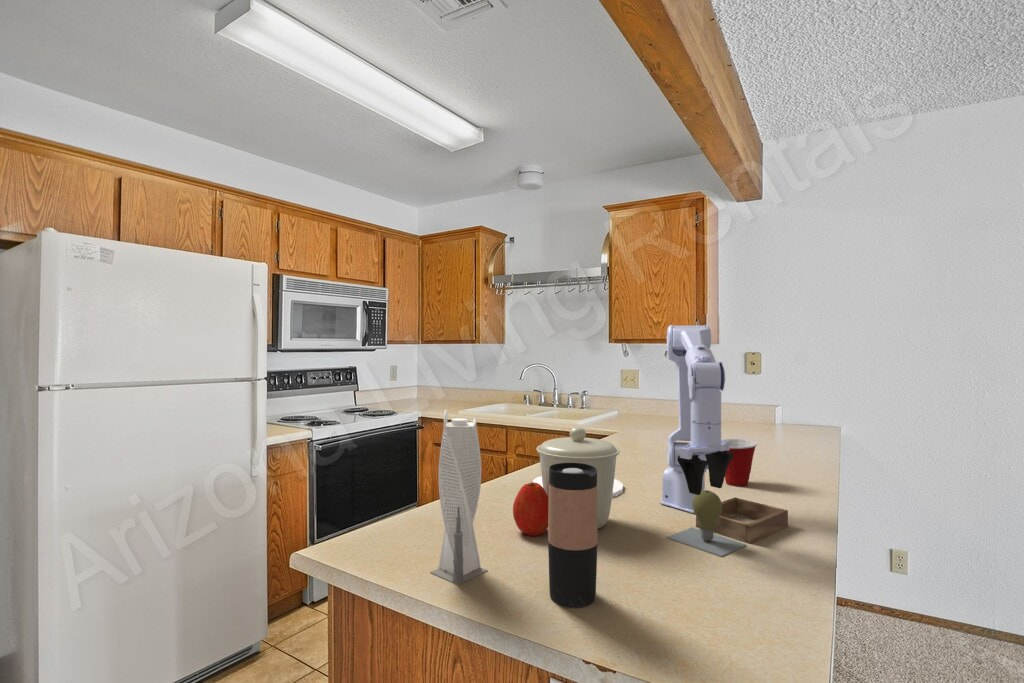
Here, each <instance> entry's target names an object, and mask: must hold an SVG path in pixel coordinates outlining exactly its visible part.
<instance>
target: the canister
mask: <svg viewBox="0 0 1024 683" xmlns="http://www.w3.org/2000/svg"><path fill="white" fill-rule="evenodd" d="M586 434H587V433H586V430H585V428H583V427H579V426H577V427H573V428H571V429H570V430H569V436H568V437H566V436H565V437H557V438H552V439H547V440H545V441H543V442H542V444H539V445H538V446H537V447H536V452H537V453H538V454H539V463H540V472H541V474H540V475H541V476H542V484H543V488H544V490H545V491H546V493H547V495H548V498H549V467H550V466H551V465H554V464H558V463H583V464H588V465H592V466H594V467H596V469H597V530H599V529H600V528H602V527H604V526H605V525H606V524H607V522H608V520H609V517H610V513H611V507H612V500H613V497H612V493H613V485H614V479H615V476H616V475H615V473H616V464H617V457H618V455H619V454H620V453H621V450H620V449H619V448H618V447H616V446H615V445H614V444H612V443H611V442H610V441H606V440H603V439H598V438H593V437H586Z"/></svg>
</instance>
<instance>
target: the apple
mask: <svg viewBox="0 0 1024 683" xmlns="http://www.w3.org/2000/svg"><path fill="white" fill-rule="evenodd" d="M548 509H549V498H548V495H547V493H546V491H545V490H544V488H543V487H542V486H541V485H540V484H538V483H535V482H532V481H531V482H530V483H526V484H524V485H522V486H521V487H520V489H519V490H518V492H517V494H516V496H515V497H514V502H513V504H512V514H513V519H514V522H515V524H516V527H517V528H518V529H519V531H520V532H521V533H523V534H526V535H527V536H531V537H532V536H533V537H534V536H535V537H536V536H540V535H542V534H544V533H545V532H546V531H547V529H548Z"/></svg>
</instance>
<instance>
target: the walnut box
mask: <svg viewBox="0 0 1024 683" xmlns="http://www.w3.org/2000/svg"><path fill="white" fill-rule="evenodd" d="M721 502H722V512H721V514H720V516H719V518H718V520H717V522H716V526H715V528H714V529H713V533H714V532H715V533H714V534H717V533H718V534H717V535H720V536H724V535H725V536H724V537H727V536H728V538H730V537H731V539H733V538H734V539H733V540H737V541H739V542H742V543H745V544H746V543H747V544H749V545H751V544H754V543H755V542H758V541H759V540H762V539H764V538H766V537H769V536H770V534H771V535H772V533H773V534H775V533H777V532H779V531H782V530H784V529H785V528H788V526H789V510H788V509H784V508H780V507H775V506H771V505H767V504H764V503H759V502H754V501H752V500H751V501H750V500H747V499H743V498H739V497H732V498H729V499H726V500H723V501H721ZM735 514H736V515H738V514H739V515H738V516H741V515H743V516H742V517H745V516H746V518H749V517H750V519H752V518H753V519H752V520H754V521H750V522H744V521H740V520H737V519H733V518H731V517H733V516H732V515H734V516H736V515H735ZM730 516H731V517H730ZM727 517H728V518H727ZM756 519H757V520H756ZM695 527H696V528H698V527H699V528H698V529H700V526H699V523H698V519H697V517H696V516H695ZM781 529H782V530H781ZM774 532H775V533H774Z"/></svg>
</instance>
